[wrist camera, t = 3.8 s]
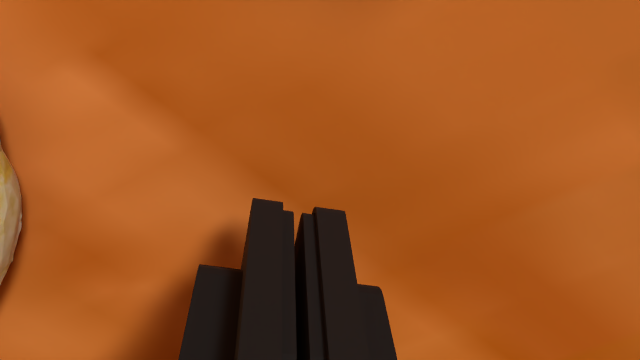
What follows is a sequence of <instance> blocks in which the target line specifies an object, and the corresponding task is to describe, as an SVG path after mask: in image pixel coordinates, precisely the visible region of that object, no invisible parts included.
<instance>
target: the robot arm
mask: <svg viewBox="0 0 640 360" xmlns="http://www.w3.org/2000/svg"><path fill="white" fill-rule="evenodd" d="M179 360H397V356H396V352H395V347H394V343H393V338H392V334H391V329H390V325H389V320H388V316H387V311H386V307H385V302H384V298H383V294H382V291H381V289H380V288H379V287H377V286H369V285H361V284H357V279H356V273H355V267H354V261H353V255H352V249H351V243H350V237H349V231H348V225H347V220H346V214H345V211H341V210H334V209H327V208H320V207H314V209H313V212H312V214H306V213H302V215H301V218H300V222H299V227H298V232H297V236H296V241H295V246H294V213H293V212H292V211H284V210H283V202H277V201H270V200H263V199H256V198H253V200H252V205H251V211H250V217H249V223H248V229H247V235H246V242H245V248H244V254H243V260H242V266H241V270H240V269H232V268H224V267H216V266H208V265H200V264H199V267H198V271H197V276H196V280H195V285H194V290H193V294H192V299H191V304H190V308H189V313H188V318H187V323H186V327H185V332H184V337H183V341H182V346H181V351H180V355H179Z"/></svg>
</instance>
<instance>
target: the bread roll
mask: <svg viewBox="0 0 640 360" xmlns="http://www.w3.org/2000/svg"><path fill="white" fill-rule="evenodd" d="M21 218H22V208H21V193H20V187H19V181H18V179H17V176H16V173H15V170H14V168H13V167H12V165H11V163H10V161H9V160H8V158H7V156H6V155H5V153H4V151H3V149H2V147H1V141H0V284H1V282H2V281H3V279H4V277H5V275H6V273H7V270H8V268H9V265H10V263H11V264H12V262H13V255H14V251H15V248H16V245H17V241H18V236H19V233H20V231H21V229H22V227H21V226H22V222H21Z"/></svg>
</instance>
